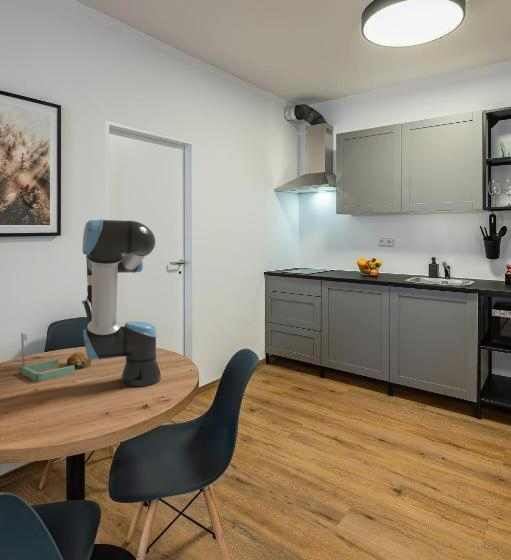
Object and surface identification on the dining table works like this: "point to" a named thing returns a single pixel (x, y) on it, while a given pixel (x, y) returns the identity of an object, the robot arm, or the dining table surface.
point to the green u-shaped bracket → (43, 367)
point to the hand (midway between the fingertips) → (97, 335)
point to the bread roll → (79, 360)
